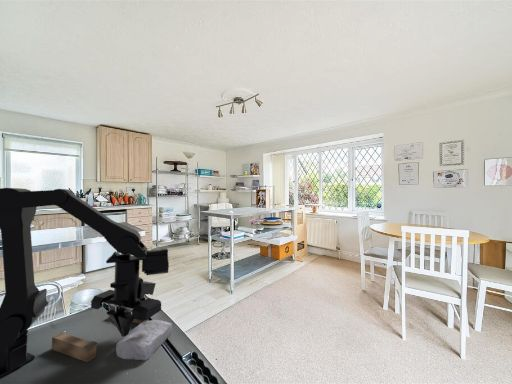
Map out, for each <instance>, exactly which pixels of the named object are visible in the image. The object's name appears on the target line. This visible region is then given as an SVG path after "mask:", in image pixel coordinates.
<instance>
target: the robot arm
mask: <svg viewBox="0 0 512 384" xmlns="http://www.w3.org/2000/svg"><path fill="white" fill-rule="evenodd" d="M47 206H49V207H50V206H56V207H59V209H61V210H62V211H64V212H66V213H68V214H69V215H71V216H72V217H73V218H75V219H77V220H79V221H80V222H81V223H83V224H85V225H86V226H88V227H89V228H91V229H92V230H94V231H95V232H97V233H99V234H100V235H101V236H102V237H103V238H104V239H105V240H106V242H108V244H109V245H110V246H111V247H112V248H113V249H114V250H115V251H114V252H113V253H112V254H111V255H110V256H109V257H108V258H107V259H106V261H105V263H106V264H114V281H113V282H111V283H110V286H109V287H110V289H108V290H106V291H104V292H101V293H98V294H96V295H94V296H93V298H92V299H91V300H90V308H91V309H95V310H99V309H101V308H102V307H103V303H106V304H108V305H107V306H108V308H109V309H108V311H106V315H107V316H109V318H110V319H111V320H112V323H113V324H114V326H115V327H116V328H117V330H118V333H119V334H120V336H121V337H122V338H124V337H125V336H127V335H128V333H129V332H130V331H131V329H132V328H131V327H132V326H133V323H134V322H133V321H134V319H137V320H141V321H144V320H147V319H148V320H149V319H150V318H152V317H154V316H155V315H157V313H160V311H162V301H161V300H159V299H155V298H150V297H148V298H146V299H144V300H142V299H143V298H144V297H145V295H151V296H153V295H154V291H155V289H156V284H157V283H156V282H152V281H151V282H149V281H145V280H144V278H142V277H140V265H141V272H142V273H144V274H146V276H153V275H154V276H155V275H160V274H162V275H163V274H168V273H169V265H170V264H169V263H170V262H169V254H168V253H169V249H168V248H161V249H150V250H149V249H148V248H147V246H146V245H145V244H144V243H143V242H142V238H141V233H140V232H139V231H138V230H136V229H134V228H132V227H130V226H127V225H125V224H123V223H119V222H117V221H114V220H113V219H111V218H110V217H108V216H107V215H106V214H103V213H102V212H101V211H100V210H98V209H96V208H95V207H94V206H91V205H90V204H89V203H88V202H87V201H85V200H83V199H82V198H80V197H78V195H76V194H74V193H73V191H72V190H70V189H67V188H56V189H50V190H49V189H48V190H30V189H27V188H21V187H20V188H18V187H16V188H15V187H1V188H0V238H1V248H2V249H1V251H2V263H3V265H2V266H3V277H4V279H3V281H4V290H5V293H4V297H3V300H2V302H1V304H0V378H2V377H4V376H5V375H7V374H8V373H9V374H10V372H13V371H15V370H17V369H18V368H20V367H22V366H24V365H26V364H28V363H29V362H31V361H33V360H35V357H36V355H34V354H32V353H30V352H28V339H29V331H28V330H29V329H30V327H32V326H33V325H34V323H35V322H36V321H37V320H38V319H39V318H40V317H41V315H43V313H44V312H45V309H46V307H47V306H48V305H49V302H48V299H47V295H48V293H47V291H48V289H47V288H44V289H41V290H40V289H39V288H38V286H36V284H35V272H34V271H35V270H34V259H33V244H32V228H31V227H32V222H33V221H34V218H35V216H36V214H37V208H39V207H47ZM140 262H141V264H140ZM111 288H112V289H111Z"/></svg>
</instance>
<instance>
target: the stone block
mask: <svg viewBox="0 0 512 384" xmlns="http://www.w3.org/2000/svg"><path fill="white" fill-rule="evenodd" d="M172 332H173V325H172V323H171V322H169V321H165V320H161V319H160V320H159V319H151V320H148V321H146V322H143V323H140V324H138V325H137V326H135V327H134V328H131V329H130V331H129V333H128V335H127V336H125V337H122V339H119V341H118V342H116V346H115V353H116V357H117V358H120V359H123V360H136V361H147V360H149V359H150V358H151V356H153V354H155V352H156V351H157V350H158V349H159V348H160V347H161V345H162V344H163V343H164V342H165V341H166V340H167V339H168V338H169V337H170V335H171V333H172Z"/></svg>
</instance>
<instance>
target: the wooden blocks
mask: <svg viewBox="0 0 512 384" xmlns="http://www.w3.org/2000/svg"><path fill="white" fill-rule="evenodd" d="M146 321H149V319H147V320H144V321H141V320H137V319H134V321H133V323H134V324H138V325H139V324H140V323H143V322H146ZM97 344H98V342H97V341H95V340H92V341H89V340H86V339H83V338H79V337H76V336H74V335H70V334H68V333H63V332H59V333H58V334H56V335H54V336H52V337H51V350H52V351H55V352H56V353H57V352H58V353H60V354H63V355H65V356H68V357H71V358H74V359H76V360H79V361H82V362H85V363H86V364H87V363H89V362H90V361H92V360H93V359H95V358H96V357H97Z"/></svg>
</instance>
